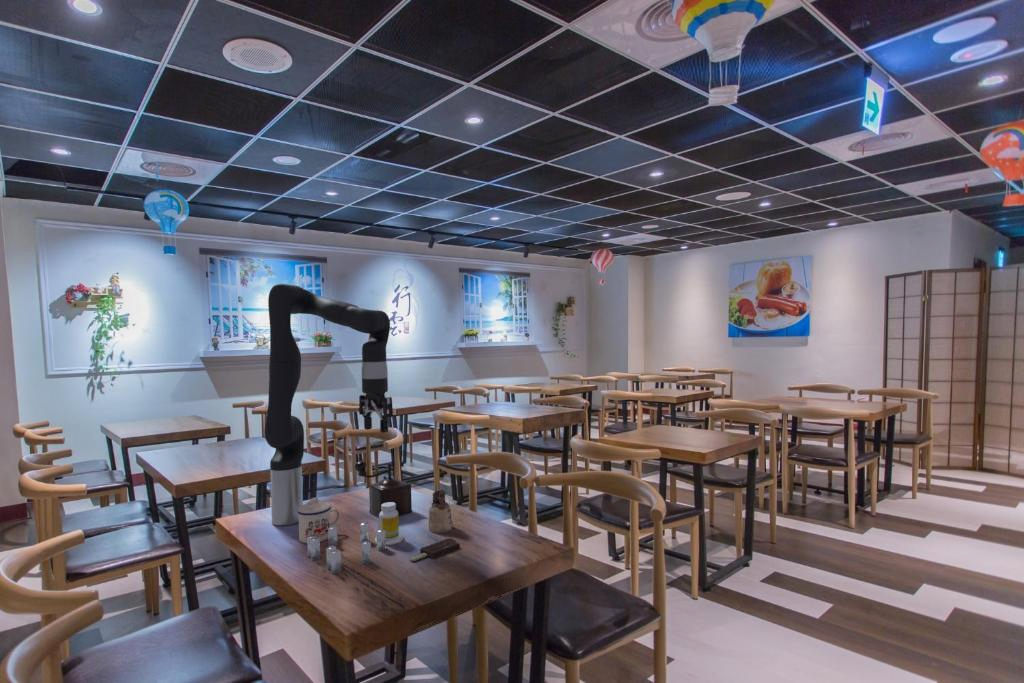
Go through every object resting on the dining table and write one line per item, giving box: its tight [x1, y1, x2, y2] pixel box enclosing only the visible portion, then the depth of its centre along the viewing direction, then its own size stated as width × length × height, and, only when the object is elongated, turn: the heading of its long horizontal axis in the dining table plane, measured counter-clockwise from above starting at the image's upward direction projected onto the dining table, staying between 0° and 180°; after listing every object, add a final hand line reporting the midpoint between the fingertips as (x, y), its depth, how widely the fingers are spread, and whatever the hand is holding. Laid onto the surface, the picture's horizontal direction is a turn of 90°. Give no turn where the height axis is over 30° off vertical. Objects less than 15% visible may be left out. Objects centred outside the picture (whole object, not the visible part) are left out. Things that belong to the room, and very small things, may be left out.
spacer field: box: [306, 521, 387, 575], centre depth 142 cm, size 19×18×5 cm
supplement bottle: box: [378, 502, 400, 541], centre depth 151 cm, size 5×5×10 cm
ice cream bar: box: [409, 537, 461, 562], centre depth 141 cm, size 5×2×15 cm
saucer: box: [374, 532, 404, 546], centre depth 151 cm, size 8×8×1 cm
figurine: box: [428, 488, 453, 534], centre depth 159 cm, size 7×7×12 cm
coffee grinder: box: [353, 460, 413, 519], centre depth 173 cm, size 16×11×18 cm
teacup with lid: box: [298, 497, 341, 544], centre depth 155 cm, size 12×9×12 cm
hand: (376, 430), depth 159 cm, fingers open, 8 cm apart
